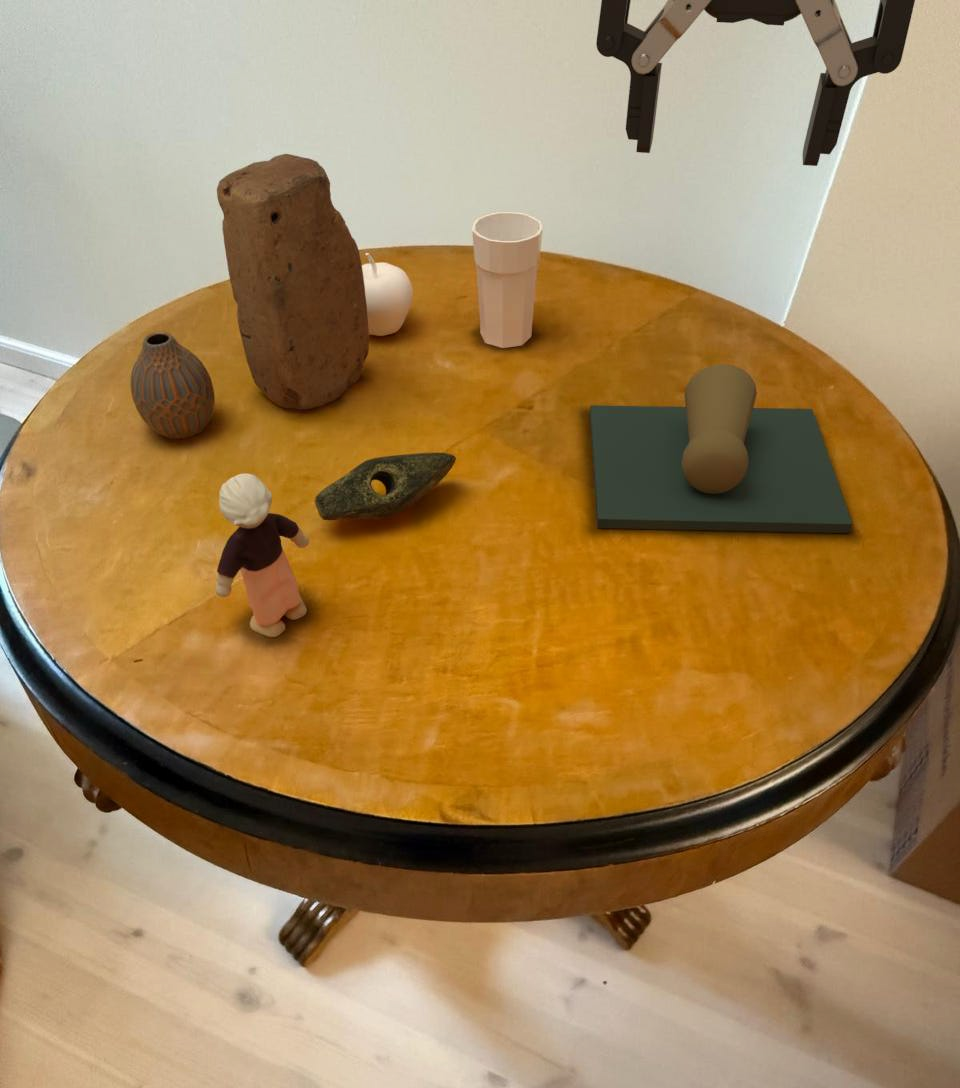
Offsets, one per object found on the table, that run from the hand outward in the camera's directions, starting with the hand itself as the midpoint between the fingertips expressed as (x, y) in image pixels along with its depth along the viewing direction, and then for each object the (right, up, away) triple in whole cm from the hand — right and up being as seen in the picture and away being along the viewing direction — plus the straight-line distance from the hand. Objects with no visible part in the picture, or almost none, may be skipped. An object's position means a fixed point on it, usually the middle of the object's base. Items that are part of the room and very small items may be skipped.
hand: (726, 154), depth 49 cm
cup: (-10, +6, +46) cm, 48 cm away
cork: (+8, -4, +31) cm, 33 cm away
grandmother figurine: (-28, -24, +19) cm, 42 cm away
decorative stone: (-20, -15, +28) cm, 38 cm away
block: (-29, -1, +40) cm, 49 cm away
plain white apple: (-23, +7, +47) cm, 53 cm away
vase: (-40, -6, +36) cm, 54 cm away
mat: (+7, -11, +31) cm, 33 cm away
